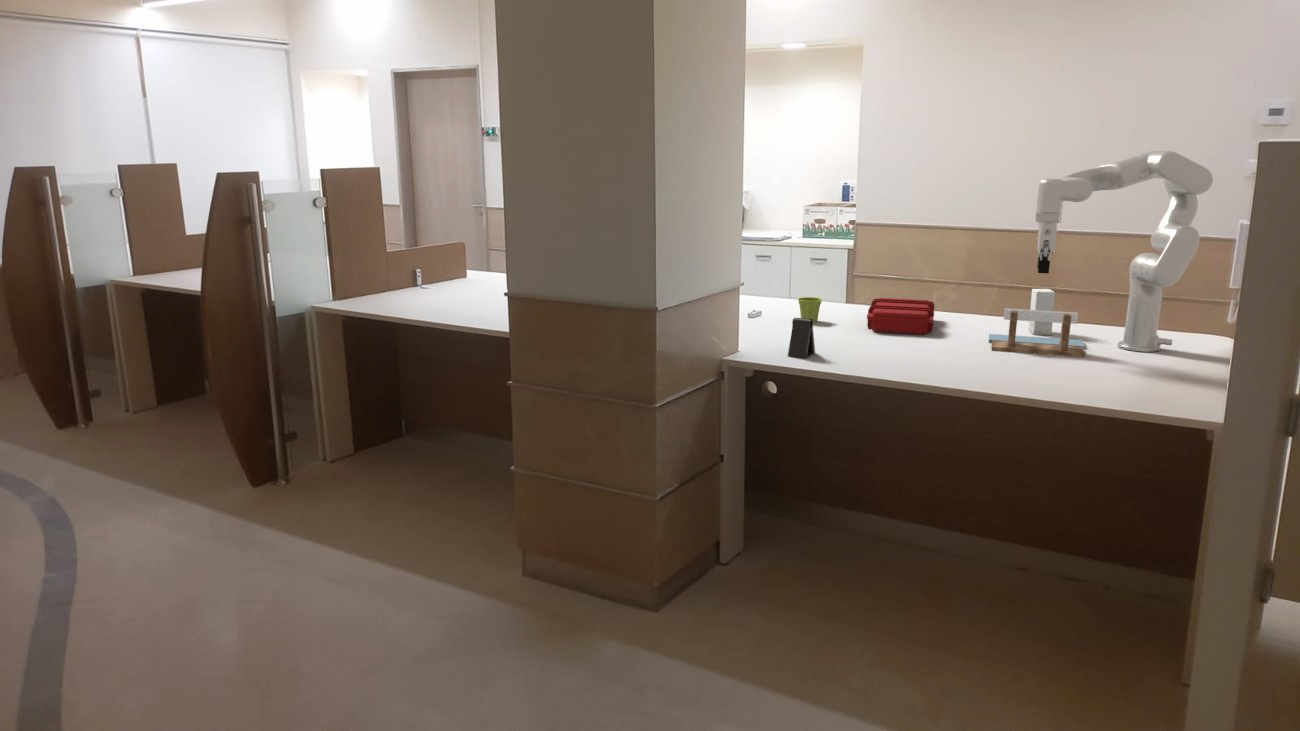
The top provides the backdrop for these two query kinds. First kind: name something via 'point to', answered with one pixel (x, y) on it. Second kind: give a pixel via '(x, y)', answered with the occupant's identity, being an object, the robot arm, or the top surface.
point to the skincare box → (1042, 301)
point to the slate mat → (1035, 340)
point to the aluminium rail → (1040, 315)
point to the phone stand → (801, 338)
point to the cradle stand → (1039, 348)
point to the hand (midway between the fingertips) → (1042, 271)
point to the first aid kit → (901, 316)
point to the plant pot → (809, 307)
